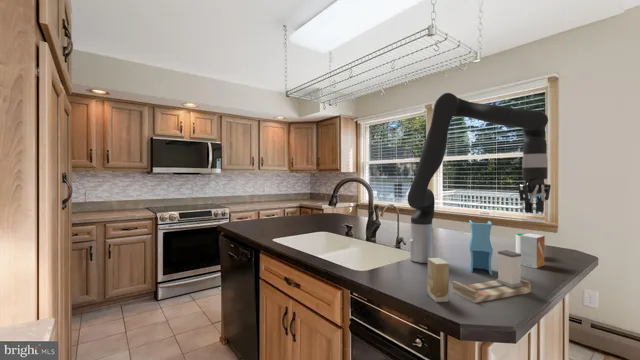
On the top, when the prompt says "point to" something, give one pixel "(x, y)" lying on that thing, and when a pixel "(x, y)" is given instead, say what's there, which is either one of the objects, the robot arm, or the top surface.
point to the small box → (532, 250)
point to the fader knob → (509, 268)
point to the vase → (480, 246)
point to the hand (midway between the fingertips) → (534, 211)
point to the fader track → (489, 290)
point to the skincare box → (438, 279)
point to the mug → (518, 242)
